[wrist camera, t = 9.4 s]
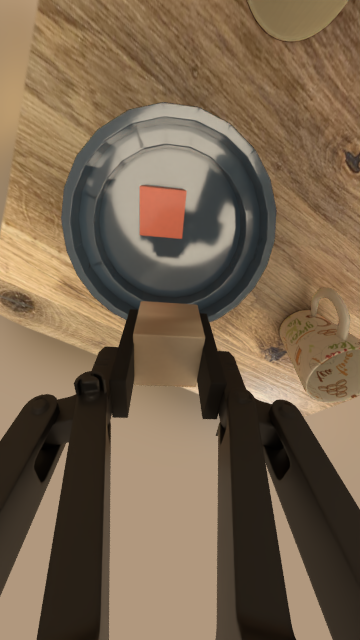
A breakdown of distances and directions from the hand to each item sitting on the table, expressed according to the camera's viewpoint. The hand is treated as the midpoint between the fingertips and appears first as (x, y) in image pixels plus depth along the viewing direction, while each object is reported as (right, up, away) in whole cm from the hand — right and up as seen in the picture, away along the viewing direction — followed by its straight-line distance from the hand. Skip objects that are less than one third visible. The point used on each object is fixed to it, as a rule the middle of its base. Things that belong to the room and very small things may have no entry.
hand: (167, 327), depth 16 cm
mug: (+18, +1, +16) cm, 24 cm away
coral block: (-1, +12, +7) cm, 14 cm away
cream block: (0, 0, 0) cm, 0 cm away
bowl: (0, +10, +9) cm, 14 cm away
